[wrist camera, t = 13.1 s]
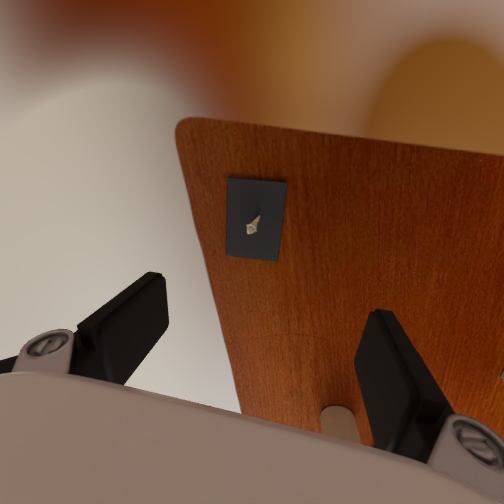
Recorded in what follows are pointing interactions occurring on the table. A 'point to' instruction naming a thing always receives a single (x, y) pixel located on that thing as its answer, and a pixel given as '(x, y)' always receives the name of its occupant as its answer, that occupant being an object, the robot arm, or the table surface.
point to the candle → (339, 423)
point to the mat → (247, 210)
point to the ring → (252, 226)
